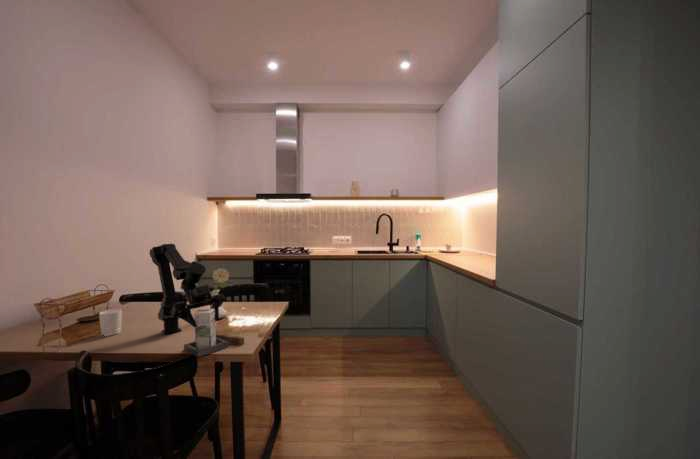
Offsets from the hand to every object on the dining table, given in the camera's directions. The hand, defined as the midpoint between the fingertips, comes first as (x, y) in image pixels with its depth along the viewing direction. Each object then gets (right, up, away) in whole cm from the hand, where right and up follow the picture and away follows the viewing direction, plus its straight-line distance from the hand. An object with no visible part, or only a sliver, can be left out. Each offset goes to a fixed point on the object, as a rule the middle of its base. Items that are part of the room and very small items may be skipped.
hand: (207, 323), depth 115 cm
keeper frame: (-1, -10, +1) cm, 10 cm away
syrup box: (-1, -10, +1) cm, 10 cm away
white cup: (-52, -11, +21) cm, 57 cm away
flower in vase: (-14, -10, +41) cm, 44 cm away
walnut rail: (+3, -9, +8) cm, 13 cm away
